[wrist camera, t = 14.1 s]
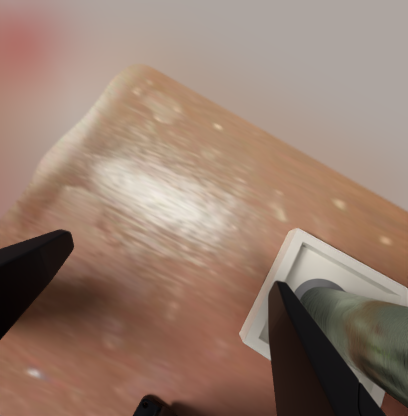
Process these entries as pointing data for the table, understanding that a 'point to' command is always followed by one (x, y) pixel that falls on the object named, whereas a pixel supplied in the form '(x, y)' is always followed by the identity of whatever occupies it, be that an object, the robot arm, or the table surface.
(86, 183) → the table surface
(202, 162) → the table surface
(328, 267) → the tray
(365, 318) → the green bottle
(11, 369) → the table surface
